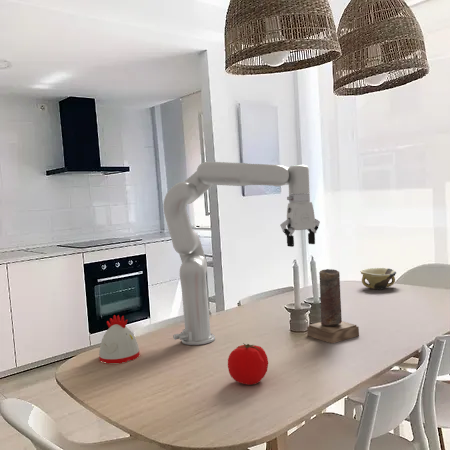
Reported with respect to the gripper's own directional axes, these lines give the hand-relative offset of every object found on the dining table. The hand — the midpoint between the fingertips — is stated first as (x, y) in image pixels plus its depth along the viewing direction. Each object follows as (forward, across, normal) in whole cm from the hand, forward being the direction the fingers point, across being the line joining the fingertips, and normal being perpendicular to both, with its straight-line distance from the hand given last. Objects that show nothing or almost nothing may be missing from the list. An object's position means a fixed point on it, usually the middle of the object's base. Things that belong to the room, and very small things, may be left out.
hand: (301, 245), depth 182 cm
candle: (+30, +6, -8) cm, 31 cm away
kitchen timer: (+35, -64, +22) cm, 77 cm away
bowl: (+33, +78, +39) cm, 93 cm away
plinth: (+33, +6, -9) cm, 35 cm away
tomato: (+34, -41, -26) cm, 59 cm away
